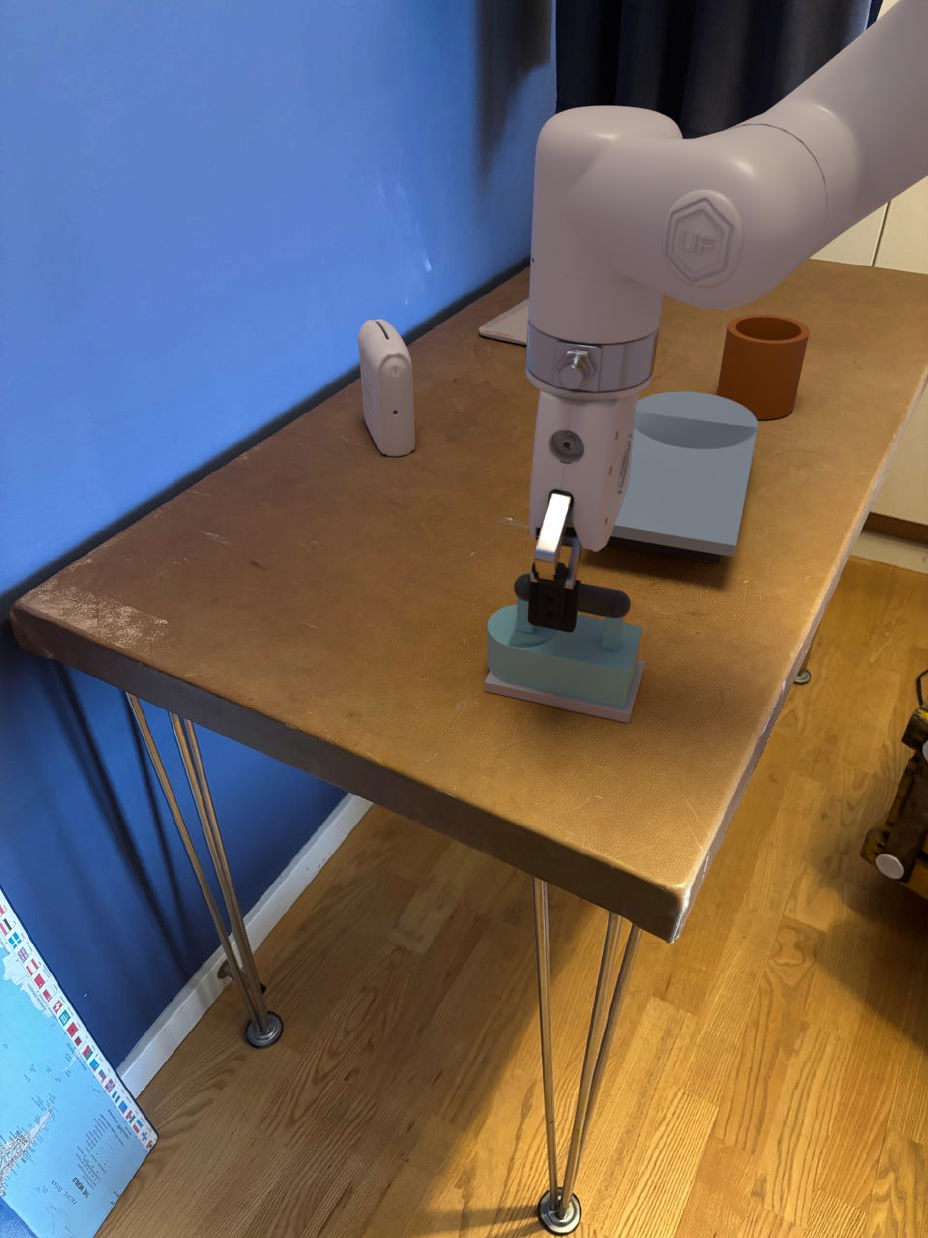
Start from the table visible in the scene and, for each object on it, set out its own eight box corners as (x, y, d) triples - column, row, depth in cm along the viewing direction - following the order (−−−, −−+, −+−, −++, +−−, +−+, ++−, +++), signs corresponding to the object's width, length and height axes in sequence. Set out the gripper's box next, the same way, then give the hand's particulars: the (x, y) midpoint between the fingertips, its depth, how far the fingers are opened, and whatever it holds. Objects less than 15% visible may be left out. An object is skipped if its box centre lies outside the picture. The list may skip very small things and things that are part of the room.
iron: (643, 671, 70) (658, 574, 65) (628, 723, 66) (643, 625, 60) (499, 641, 73) (501, 546, 68) (476, 689, 69) (476, 592, 63)
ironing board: (754, 443, 99) (763, 400, 96) (726, 593, 78) (736, 545, 75) (635, 426, 102) (640, 384, 99) (577, 566, 81) (581, 519, 78)
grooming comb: (538, 349, 119) (538, 343, 118) (472, 334, 123) (472, 329, 123) (600, 307, 131) (601, 301, 131) (539, 294, 135) (539, 289, 135)
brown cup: (810, 387, 110) (828, 313, 104) (780, 427, 102) (798, 349, 96) (737, 372, 113) (751, 299, 108) (703, 409, 105) (716, 333, 100)
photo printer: (420, 454, 98) (415, 342, 90) (381, 460, 97) (372, 347, 89) (397, 413, 105) (390, 307, 98) (360, 418, 104) (351, 311, 97)
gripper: (626, 425, 46) (595, 675, 57) (676, 306, 59) (643, 529, 69) (484, 403, 48) (480, 649, 59) (563, 293, 60) (547, 512, 71)
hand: (568, 584), depth 64 cm, fingers open, 9 cm apart
